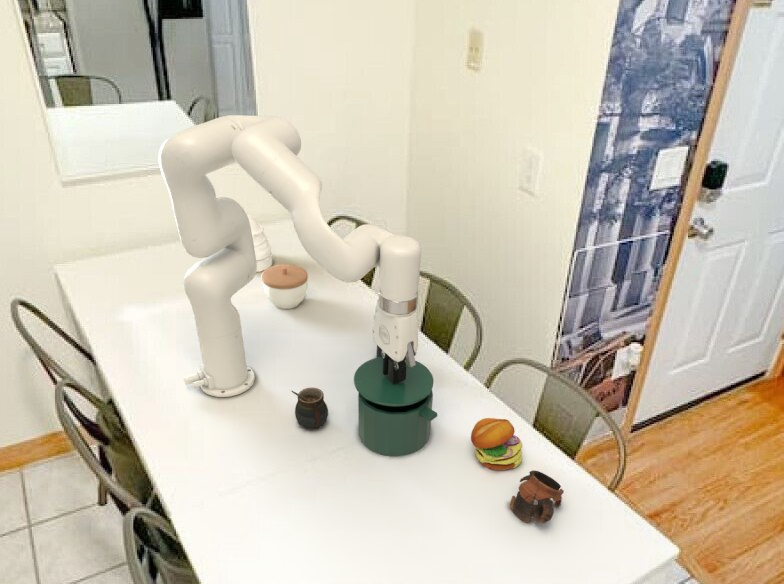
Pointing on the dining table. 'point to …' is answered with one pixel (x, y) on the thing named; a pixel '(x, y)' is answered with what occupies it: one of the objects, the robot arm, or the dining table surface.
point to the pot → (395, 426)
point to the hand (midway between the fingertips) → (394, 376)
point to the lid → (384, 391)
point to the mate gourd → (311, 408)
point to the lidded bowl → (285, 285)
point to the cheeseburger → (496, 444)
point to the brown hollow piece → (536, 497)
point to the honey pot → (260, 245)
